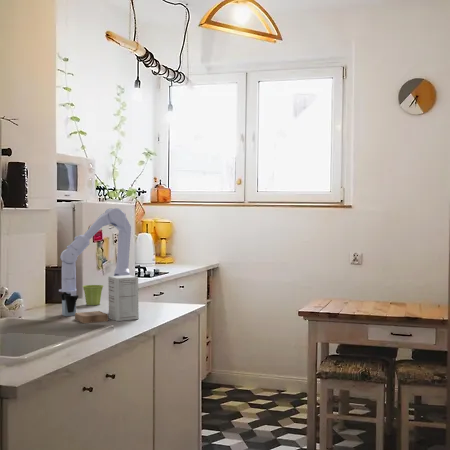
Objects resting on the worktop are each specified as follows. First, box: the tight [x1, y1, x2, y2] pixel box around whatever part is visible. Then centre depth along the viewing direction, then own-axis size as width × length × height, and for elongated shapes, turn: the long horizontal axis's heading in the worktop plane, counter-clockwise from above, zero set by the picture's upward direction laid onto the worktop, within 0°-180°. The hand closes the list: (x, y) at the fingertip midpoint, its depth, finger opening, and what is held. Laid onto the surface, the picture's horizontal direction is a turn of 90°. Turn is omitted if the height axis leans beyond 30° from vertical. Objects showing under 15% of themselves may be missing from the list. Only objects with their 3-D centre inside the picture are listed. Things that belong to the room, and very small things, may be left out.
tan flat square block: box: [74, 310, 109, 324], centre depth 244 cm, size 10×10×3 cm
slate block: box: [61, 299, 77, 317], centre depth 257 cm, size 4×4×6 cm
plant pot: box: [82, 284, 104, 306], centre depth 287 cm, size 9×9×9 cm
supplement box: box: [107, 274, 140, 322], centre depth 248 cm, size 10×9×17 cm
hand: (68, 311), depth 257 cm, fingers closed on slate block, 4 cm apart
